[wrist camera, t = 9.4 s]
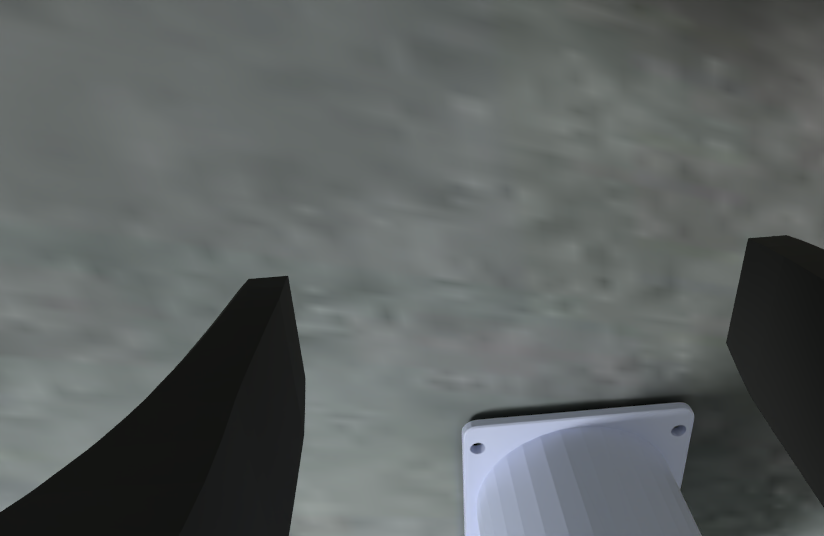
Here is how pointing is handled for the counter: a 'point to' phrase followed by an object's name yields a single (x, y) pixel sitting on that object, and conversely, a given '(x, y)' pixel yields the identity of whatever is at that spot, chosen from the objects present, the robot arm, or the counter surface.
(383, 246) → the counter surface
